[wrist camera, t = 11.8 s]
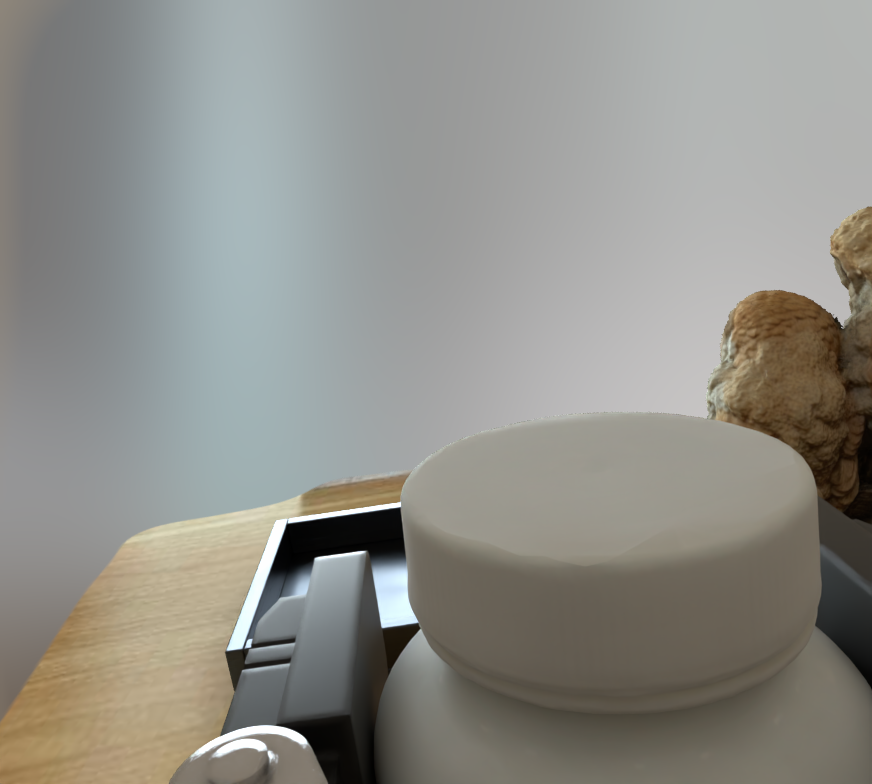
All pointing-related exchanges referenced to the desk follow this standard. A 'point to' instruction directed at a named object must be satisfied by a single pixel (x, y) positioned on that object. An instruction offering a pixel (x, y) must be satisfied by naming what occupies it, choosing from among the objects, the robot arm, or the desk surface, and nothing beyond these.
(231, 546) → the desk surface
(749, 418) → the owl figurine
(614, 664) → the pill bottle
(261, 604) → the bin
